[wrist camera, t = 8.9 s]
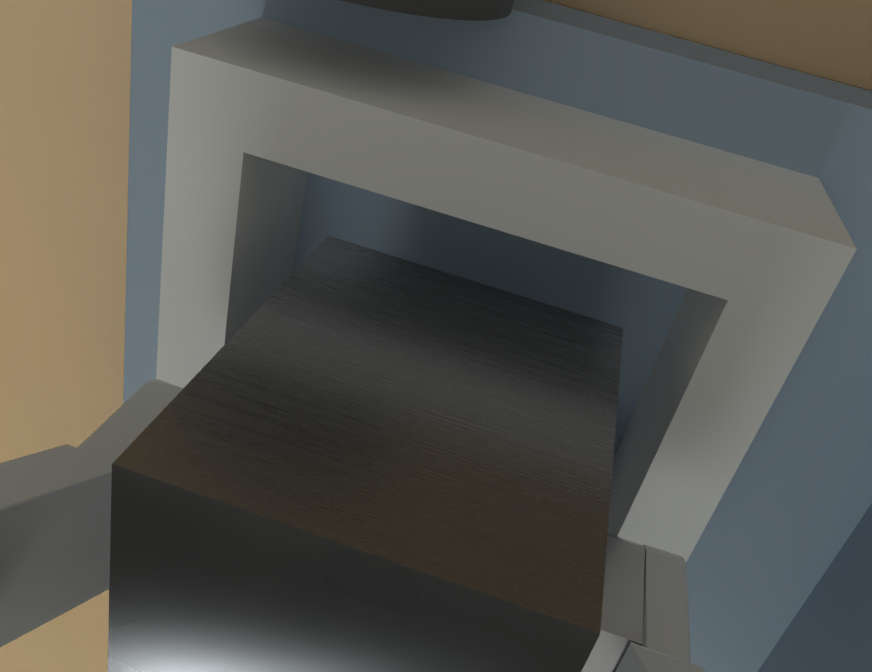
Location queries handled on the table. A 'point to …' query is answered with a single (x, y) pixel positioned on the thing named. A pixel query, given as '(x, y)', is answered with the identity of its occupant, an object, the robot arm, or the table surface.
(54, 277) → the table surface
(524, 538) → the block
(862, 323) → the chassis
